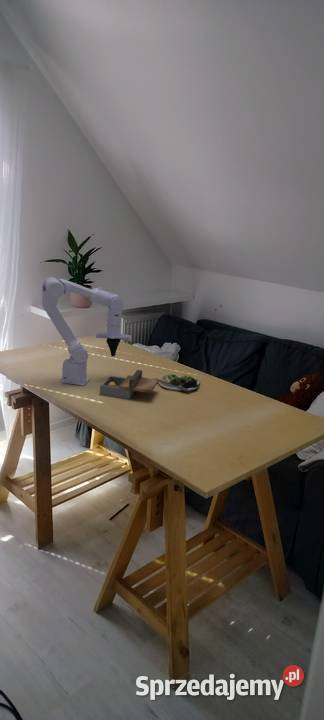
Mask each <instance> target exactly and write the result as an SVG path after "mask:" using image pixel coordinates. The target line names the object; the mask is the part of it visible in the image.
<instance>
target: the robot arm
mask: <svg viewBox="0 0 324 720" xmlns="http://www.w3.org/2000/svg"><path fill="white" fill-rule="evenodd" d="M69 293H74V294H77V295H79V296H83V297H87V298H89V301H90V302H92V303H93V304H97V305H100V306H103V307H107V317H106V318H107V319H106V320H107V321H106V322H107V323H106V332H104V331H103V332H99V331H97V332H96V333H95V338H96V339H106V340H105V341H106V344H107V345H108V346H107V347H108V348H109V351H110V357H115V356H116V355H117V354H116V353H117V350H118V347H119V345H120V342H121V341H128V342H131V341H132V335H131V334H126V333H122V311H123V308H124V306H125V303H124V300H123V299H122V297H120V295H118V294H116V293H114V292H112V291H110V292H109V291H106V290H103V288H102V287H100V286H99V287H98V288H97V287H95V288H92V289H90V288H88V287H86V286H83V285H80V284H77V283H76V282H73V281H71V280H70V281H69V280H67V279H63V278H60V277H58V278H57V277H55V276H49V277H47V278H45V280H44V281H43V283H42V287H41V305H42V308H43V310H44V311H45V312H46V313H45V314H47V316H48V317H49V319H50V321H51V322H52V324H53V326H54V327H55V328H56V330H57V332H58V333H59V335H60V336H61V338H62V340H63V342H64V343H65V345H66V346H67V349H68V350H67V352H68V353H69V355H70V356H69V358H67V359H64V360H63V362H62V367H61V371H62V373H61V374H62V375H61V377H62V378H61V379H62V380H61V383H64V384H71V385H78V386H85V385H86V383H88V382H89V381H90V379H91V378H90V377H88V375H87V371H88V370H87V367H88V359H89V352H88V350H87V349H86V348H85V347H84V346H83V344H82V343H81V342H79V341H78V339H77V338H76V336H75V335H74V333H73V331H72V330H71V328H70V326H69V324H68V323H67V321H66V319H64V318H65V317H63V315H62V313H61V311H60V310H59V308H58V307H57V305H58V302H59V300H60V298H61V297H62V296H63V294H64V295H68V294H69Z"/></svg>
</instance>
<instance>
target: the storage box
mask: <svg viewBox="0 0 324 720" xmlns="http://www.w3.org/2000/svg"><path fill="white" fill-rule="evenodd" d="M125 378H126V377H121V376H115V375H108V377H107V378H106V379H105V380H104V381H103V382H102V383H101V384H100V385H99V395H100V396H107V397H112V398H120V399H125V400H131V398H132V396H133V395H134V394H135V392H136V391H134V390H127V389H121V388H119V386H120V384H121V383H122V382H123V381H124V380H125ZM110 382H114V383H115V384H116V387H111V386H108V384H109V383H110Z"/></svg>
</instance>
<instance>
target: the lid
mask: <svg viewBox="0 0 324 720" xmlns="http://www.w3.org/2000/svg"><path fill="white" fill-rule="evenodd" d="M124 378H125V380H124V381H123V382H122V383H121V384H120V386H119V388H121V389H127V390H134V391H135V392H140V393H141V392H142V393H148V394H152V393H153V391H154V390H155V388H156V386H157V385H158V384H159V383H158V380H157V379H158V378H156V379H154V378H150V377H143V370H141V369H137V370H136V371H135V373H134V374H133V375H126V377H124Z"/></svg>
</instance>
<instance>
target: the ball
mask: <svg viewBox="0 0 324 720" xmlns="http://www.w3.org/2000/svg"><path fill="white" fill-rule="evenodd" d="M108 386H111V387H116V384H115V383H114V382H110V383H109V384H108Z"/></svg>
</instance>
